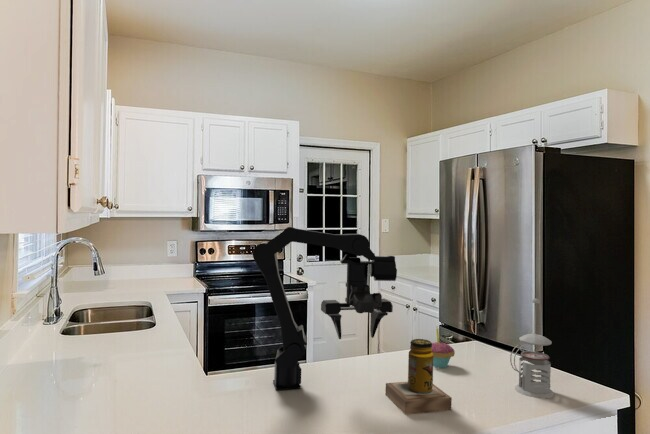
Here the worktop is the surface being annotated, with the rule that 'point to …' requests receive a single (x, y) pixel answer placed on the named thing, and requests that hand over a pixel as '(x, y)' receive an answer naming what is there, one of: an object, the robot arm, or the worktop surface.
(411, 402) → the walnut base
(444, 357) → the cupcake
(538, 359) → the french press
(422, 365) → the condiment
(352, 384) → the worktop surface
